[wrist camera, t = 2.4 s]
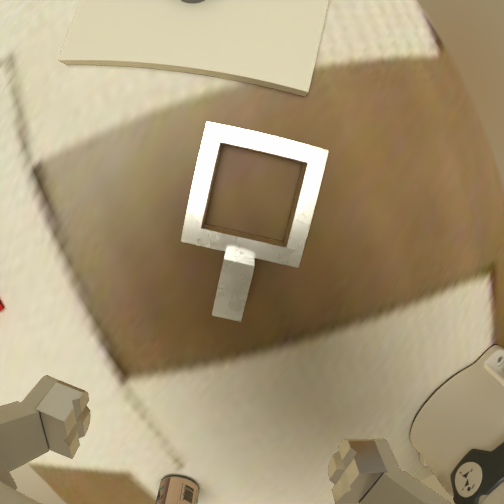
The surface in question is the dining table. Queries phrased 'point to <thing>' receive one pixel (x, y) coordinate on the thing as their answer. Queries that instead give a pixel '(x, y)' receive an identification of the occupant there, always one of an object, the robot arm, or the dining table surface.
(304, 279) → the dining table surface
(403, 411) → the dining table surface
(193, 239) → the steel link
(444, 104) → the dining table surface
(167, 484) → the beer can
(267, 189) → the dining table surface
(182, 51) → the board
